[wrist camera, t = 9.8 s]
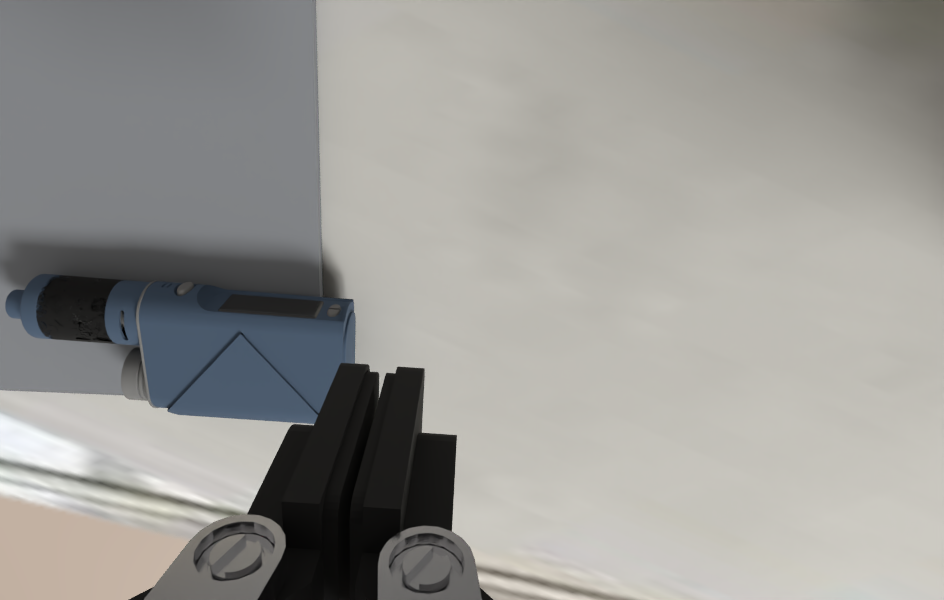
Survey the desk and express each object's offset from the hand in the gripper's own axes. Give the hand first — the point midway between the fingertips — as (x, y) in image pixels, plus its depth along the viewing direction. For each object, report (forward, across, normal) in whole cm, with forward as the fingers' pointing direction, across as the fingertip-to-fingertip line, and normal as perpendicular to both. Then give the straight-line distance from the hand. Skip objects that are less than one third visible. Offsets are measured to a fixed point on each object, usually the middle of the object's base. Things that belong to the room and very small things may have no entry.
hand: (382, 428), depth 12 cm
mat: (+11, +12, -1) cm, 17 cm away
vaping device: (+10, +2, +4) cm, 11 cm away
